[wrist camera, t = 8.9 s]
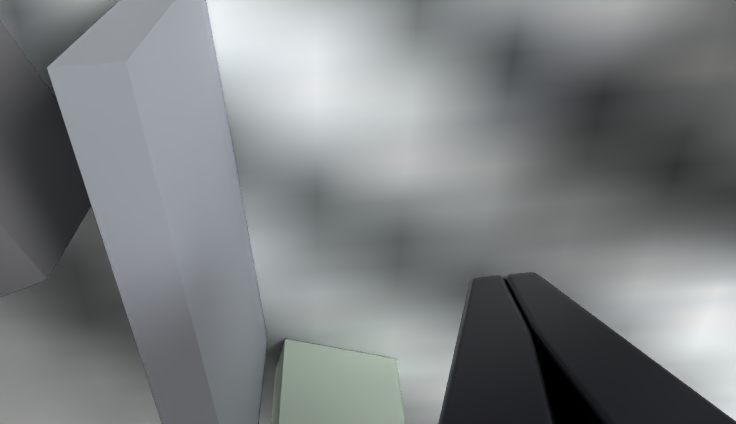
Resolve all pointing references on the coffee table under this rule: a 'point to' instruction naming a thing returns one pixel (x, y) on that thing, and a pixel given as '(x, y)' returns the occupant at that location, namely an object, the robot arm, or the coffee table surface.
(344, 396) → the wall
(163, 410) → the gray rectangular panel
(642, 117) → the coffee table surface
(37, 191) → the grey rectangular block
